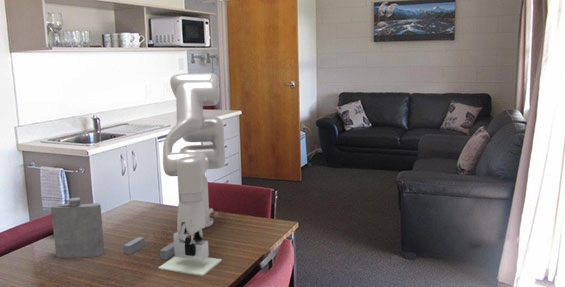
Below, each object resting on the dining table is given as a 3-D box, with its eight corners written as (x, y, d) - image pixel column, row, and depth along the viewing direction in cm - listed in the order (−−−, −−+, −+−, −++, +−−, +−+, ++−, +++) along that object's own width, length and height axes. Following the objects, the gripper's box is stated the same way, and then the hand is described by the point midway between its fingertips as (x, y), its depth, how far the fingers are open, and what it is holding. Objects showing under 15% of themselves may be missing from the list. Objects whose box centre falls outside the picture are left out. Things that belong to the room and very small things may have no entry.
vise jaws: (138, 245, 178) (138, 237, 178) (180, 250, 172) (179, 242, 172) (124, 253, 171) (123, 245, 170) (167, 259, 165) (166, 251, 164)
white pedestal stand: (181, 252, 163) (180, 230, 162) (208, 255, 160) (207, 233, 159) (174, 256, 160) (173, 234, 158) (202, 260, 156) (201, 237, 155)
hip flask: (105, 252, 173) (100, 195, 169) (102, 256, 169) (97, 199, 165) (58, 253, 172) (52, 197, 168) (53, 258, 168) (47, 200, 164)
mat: (179, 254, 169) (179, 253, 169) (221, 260, 163) (221, 259, 163) (158, 269, 158) (158, 267, 158) (203, 276, 152) (203, 274, 152)
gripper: (194, 189, 165) (197, 242, 168) (165, 203, 150) (169, 261, 153) (214, 190, 163) (217, 244, 166) (187, 205, 147) (190, 264, 150)
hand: (194, 252), depth 159 cm, fingers closed on white pedestal stand, 4 cm apart
